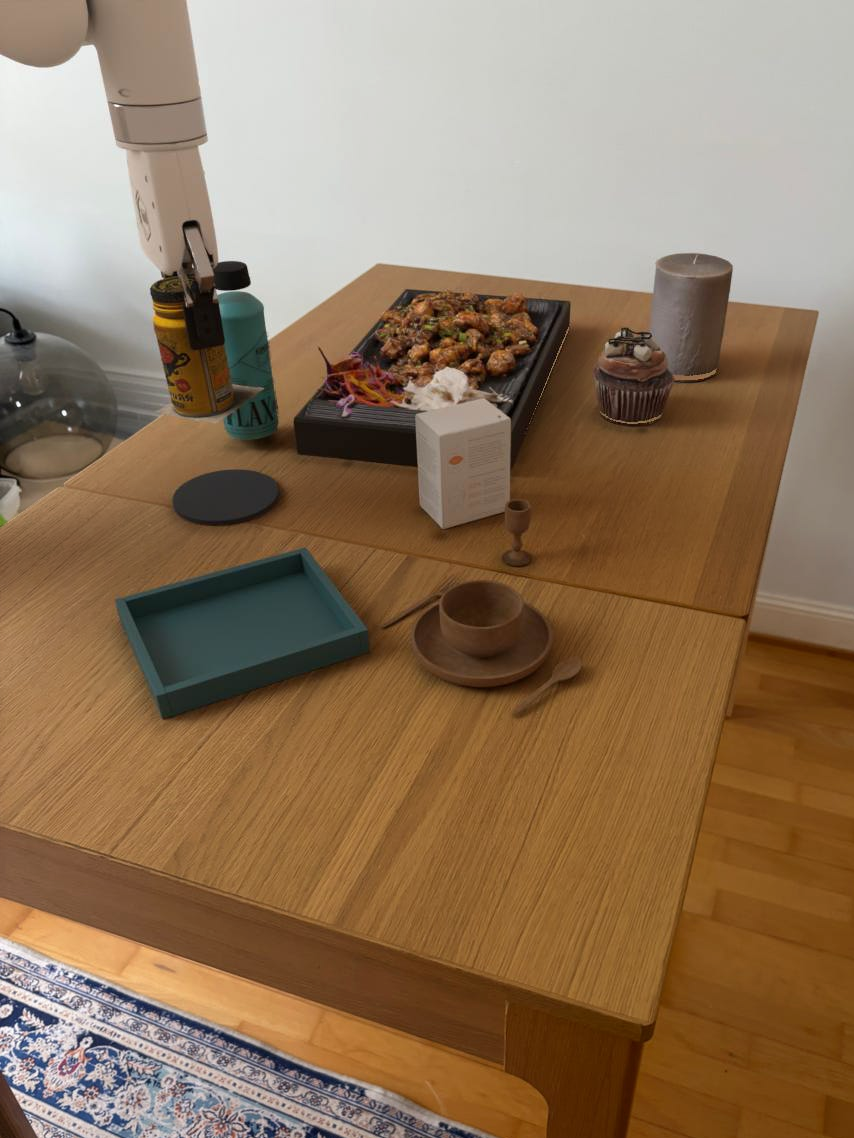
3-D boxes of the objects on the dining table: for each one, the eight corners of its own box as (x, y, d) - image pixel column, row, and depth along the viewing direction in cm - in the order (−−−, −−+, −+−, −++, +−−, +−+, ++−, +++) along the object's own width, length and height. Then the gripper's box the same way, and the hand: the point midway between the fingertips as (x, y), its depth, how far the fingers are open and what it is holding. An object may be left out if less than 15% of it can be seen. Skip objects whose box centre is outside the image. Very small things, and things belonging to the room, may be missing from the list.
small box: (485, 488, 105) (485, 396, 99) (510, 511, 101) (513, 417, 95) (417, 506, 102) (413, 412, 96) (441, 531, 98) (439, 434, 92)
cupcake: (664, 433, 116) (674, 351, 109) (583, 424, 118) (589, 342, 112) (674, 401, 123) (684, 322, 117) (598, 392, 125) (604, 314, 119)
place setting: (358, 636, 84) (352, 580, 81) (510, 545, 96) (512, 492, 92) (510, 731, 75) (512, 671, 71) (659, 617, 87) (667, 561, 83)
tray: (162, 719, 76) (156, 696, 75) (120, 621, 86) (113, 599, 85) (370, 652, 83) (368, 629, 81) (308, 568, 93) (305, 546, 91)
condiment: (154, 414, 95) (123, 290, 88) (206, 380, 101) (181, 262, 94) (216, 426, 93) (190, 300, 86) (265, 391, 99) (245, 270, 92)
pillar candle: (715, 356, 134) (732, 243, 125) (719, 385, 127) (738, 267, 118) (644, 353, 136) (656, 240, 126) (643, 381, 128) (656, 263, 119)
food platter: (508, 476, 107) (510, 386, 101) (297, 453, 111) (286, 366, 105) (569, 331, 142) (573, 258, 136) (406, 318, 146) (402, 247, 140)
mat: (189, 535, 97) (188, 530, 97) (161, 488, 105) (160, 483, 105) (294, 509, 102) (293, 504, 101) (260, 465, 109) (259, 460, 109)
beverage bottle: (221, 453, 112) (189, 274, 99) (231, 427, 117) (202, 255, 105) (278, 452, 112) (254, 274, 100) (285, 426, 117) (263, 254, 105)
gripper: (91, 110, 86) (136, 314, 97) (138, 147, 74) (182, 374, 85) (176, 103, 89) (210, 301, 100) (234, 137, 77) (265, 358, 88)
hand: (197, 333), depth 92 cm, fingers closed on condiment, 6 cm apart
